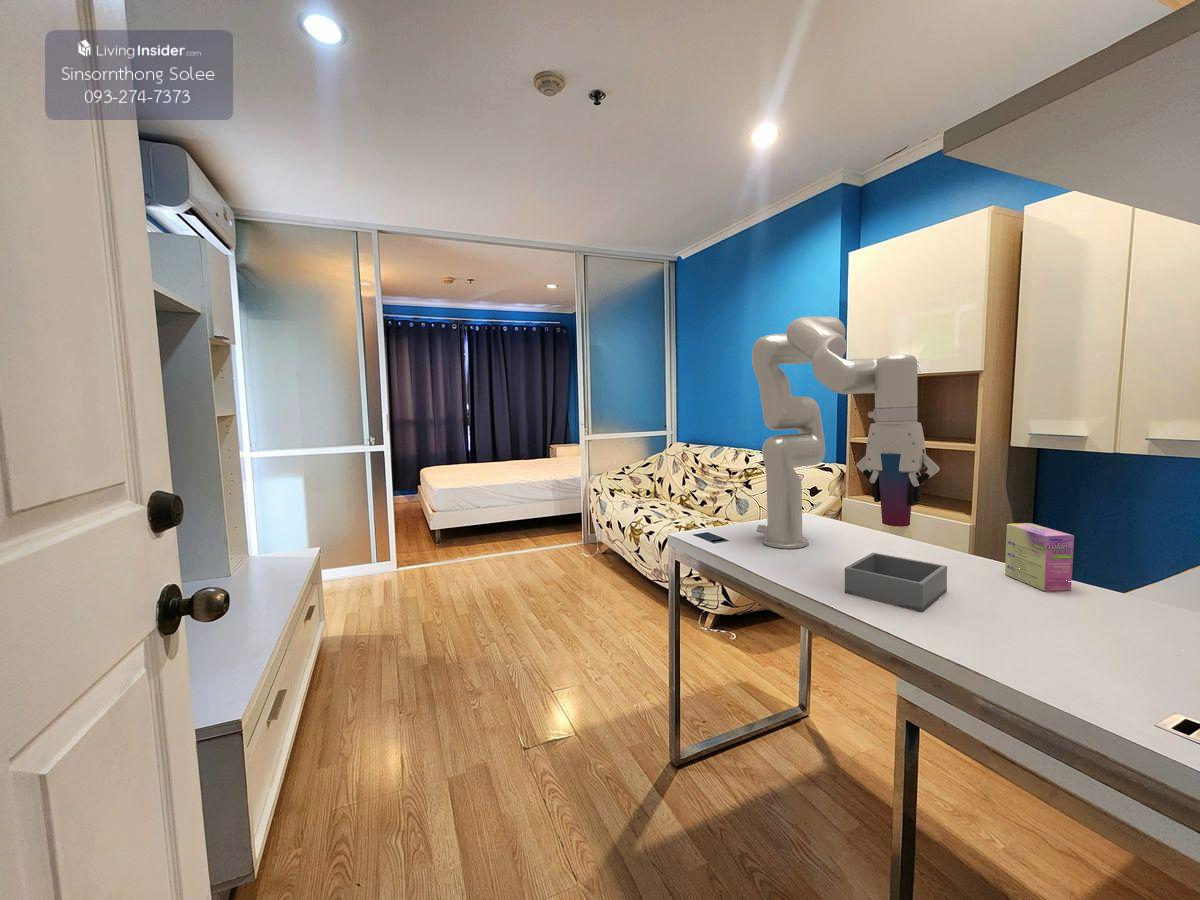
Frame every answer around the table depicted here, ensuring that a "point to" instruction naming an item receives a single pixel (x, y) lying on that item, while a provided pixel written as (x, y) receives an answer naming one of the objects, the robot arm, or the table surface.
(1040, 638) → the table surface
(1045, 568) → the box
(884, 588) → the box
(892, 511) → the cup
